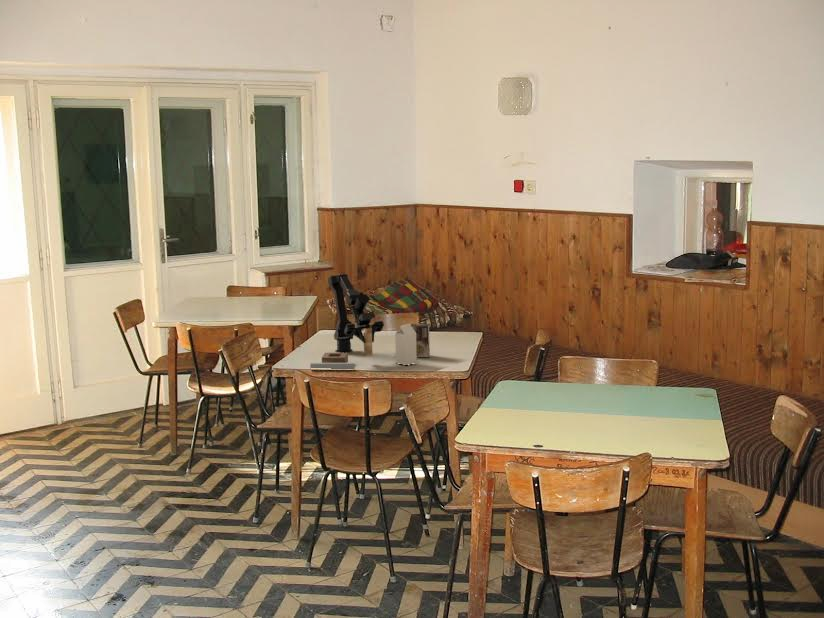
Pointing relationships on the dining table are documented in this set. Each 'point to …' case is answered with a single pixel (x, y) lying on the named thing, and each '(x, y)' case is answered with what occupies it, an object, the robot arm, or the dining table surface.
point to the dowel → (368, 342)
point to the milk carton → (405, 345)
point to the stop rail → (333, 365)
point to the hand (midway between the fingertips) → (369, 342)
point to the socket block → (335, 358)
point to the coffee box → (422, 339)
